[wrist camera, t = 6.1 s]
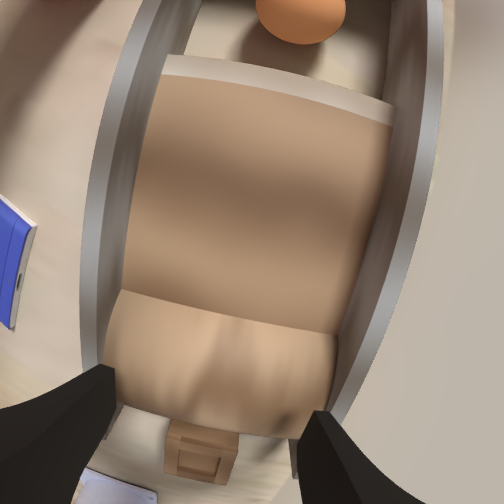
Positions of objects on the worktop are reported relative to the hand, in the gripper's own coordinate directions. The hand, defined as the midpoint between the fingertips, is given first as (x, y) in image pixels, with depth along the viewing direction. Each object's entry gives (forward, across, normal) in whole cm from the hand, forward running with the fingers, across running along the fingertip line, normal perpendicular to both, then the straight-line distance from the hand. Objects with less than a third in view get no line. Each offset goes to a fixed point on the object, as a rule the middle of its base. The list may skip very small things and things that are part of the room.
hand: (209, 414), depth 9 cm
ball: (+4, 0, -16) cm, 17 cm away
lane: (+10, 0, -8) cm, 13 cm away
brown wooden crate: (+6, 0, +8) cm, 10 cm away
